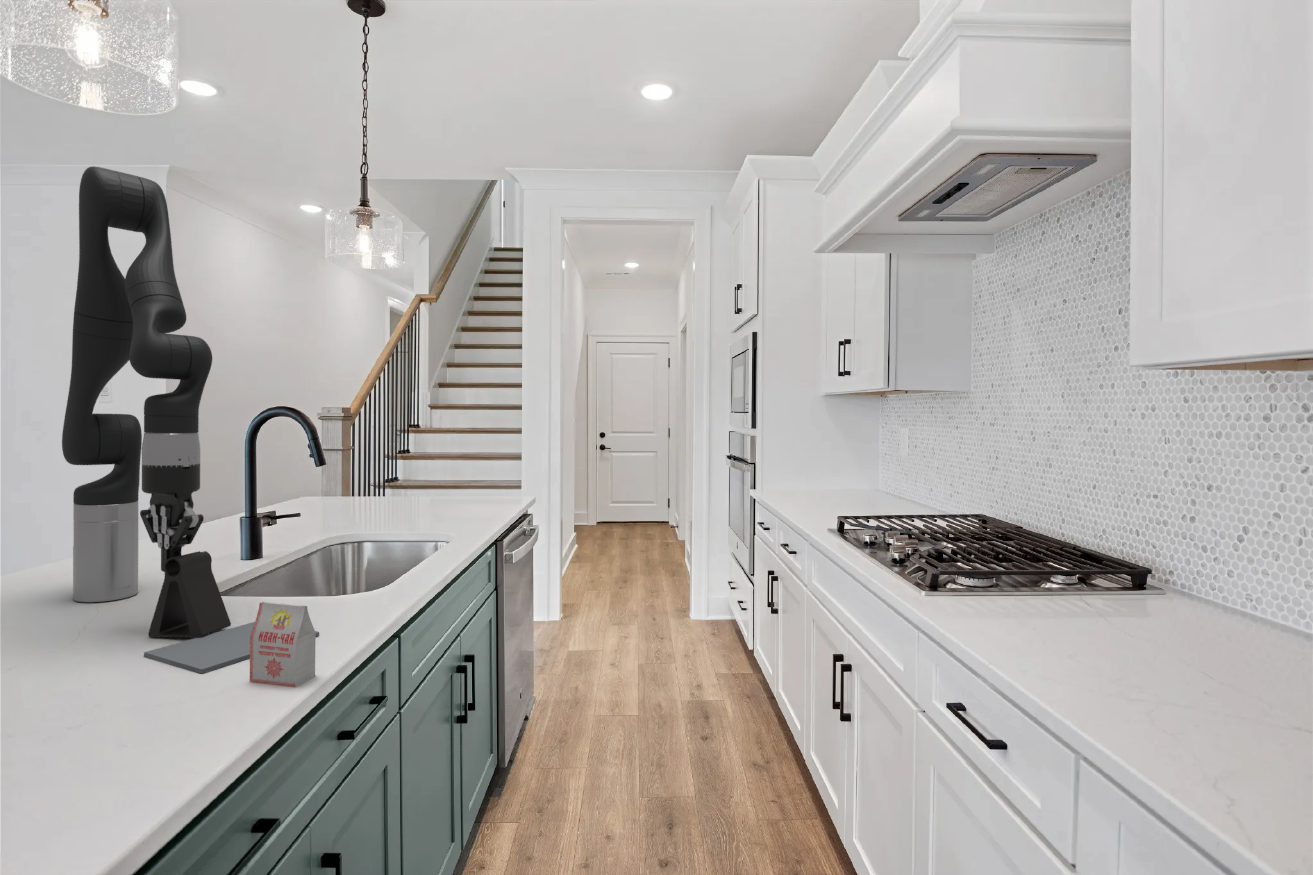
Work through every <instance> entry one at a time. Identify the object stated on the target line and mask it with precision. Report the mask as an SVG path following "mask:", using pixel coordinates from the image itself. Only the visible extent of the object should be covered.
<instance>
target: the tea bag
mask: <svg viewBox="0 0 1313 875" xmlns="http://www.w3.org/2000/svg"><path fill="white" fill-rule="evenodd" d="M308 610H309V609H308V606H307V605H300V604H289V603H278V602H267V601H266V602H265V601H261V602H259V605H258V611H257V615H256V617H255V620H254V622H255V624H254V627H253V630H252V633H251V636H250V658H249V683H256V684H257V683H258V684H264V685H265V684H266V685H272V686H273V685H274V686H281V687H291V688H298V687H299V686H301V685H302V684H304V683H306V682H308V681H310V680H312V679H313V678H315V677H316V638H317V637H316V633H315V631H316V630H315V627H314V625H313V622H312V620H311V618H310V614H309V611H308Z"/></svg>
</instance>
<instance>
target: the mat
mask: <svg viewBox="0 0 1313 875" xmlns="http://www.w3.org/2000/svg"><path fill="white" fill-rule="evenodd" d="M254 624H255V621H253V622H249V623H245V624H242V625H239V626H235V627H230V628H226V629H222V630H219V631H216V632H213V633H211V634H208V635H206V636H203V637H201V638H195V637H193V638H190V639H187V640H184V641H179V642H176V643H173V644H169V645H166V646H162V647H158V648H154V649H151V650H148V651H144V652H143V657H144V658H148V659H151V660H154V661H158V662H160V663H163V664H168V665H170V666H175V667H178V668H180V669H185V670H188V671H192V672H194V673H197V674H198V673H199V674H201V675H203V674H205V673H209V672H212V671H215V670H218V669H221V668H223V667H228V666H230V665H233V664H236V663H240V662H243V661H245V660H250V636H251V633H252V630H253V627H254ZM315 633H316V638H317V637H319V636H320V631H316V630H315Z"/></svg>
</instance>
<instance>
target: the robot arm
mask: <svg viewBox="0 0 1313 875" xmlns="http://www.w3.org/2000/svg"><path fill="white" fill-rule="evenodd" d="M78 191H79V192H78V234H79V235H78V240H79V241H78V243H79V244H78V245H79V247H78V248H79V249H78V251H79V252H78V253H79V254H78V259H79V260H78V271H77V282H76V283H77V284H76V292H75V302H74V309H73V323H72V339H71V340H72V342H71V343H72V345H71V346H72V347H71V369H70V371H71V372H70V379H69V382H70V383H69V388H68V394H67V400H66V407H65V414H64V419H63V428H62V435H61V448H62V455H63V457H64V460H65V462H66V463H68V464H69V465H73V466H104V465H105V466H106V465H114V466H113V468H112V470H111V471H110V472H109V473H108V474H106V475H105V476H102V477H101V478H99V479H96V480H94V481H91V482H87V483H84V484H82V485H78V486H77V487H75V489H74V490H73V494H72V495H73V501H72V502H73V510H72V511H73V513H72V514H73V545H72V546H73V547H72V596H73V601H75V602H79V603H100V602H101V603H102V602H108V601H109V602H110V601H116V600H123V599H125V598H130V597H133V596H135V595H137V594H138V593H139V514H140V518H141V520H142V522H143V525H144V528H145V530H146V532H147V534H148V536H149V539H150V542H151V543H153V544H154V543H155V544H157V546H158V549H160V571H161V572H164V564H165V562H166V560H167V559H169V558H172V557H177V556H181V555H182V548H184V547H185V546H187V545H190V544H192V543H193V540H194V539H195V537H196V536H197V533H198V532H199V530H200V527H201V525H202V524H203V522H204V518H205V517H204V514H201V513H200V514H197V513H196V512H195V511H194V501H193V496H192V494H193V493H194V492H198V491H199V490H200V489H201V443H200V435H199V431H200V430H199V424H200V423H199V420H200V418H199V414H200V413H199V412H200V410H199V409H200V404H201V401H202V396H203V393H204V392H203V391H204V390H205V389H204V388H205V386H206V382H207V379H208V378H209V375H210V371H211V368H212V365H213V353H212V349H211V347H210V346H209V344H208V343H207V341H205V340H204V339H203V338H202V337H198V336H193V335H184V334H183V335H182V334H174V332H177V331H179V330H181V329H182V328H183V327H184V326H185V325H186V322H187V312H186V308H185V304H184V302H183V299H182V295H181V292H180V289H179V285H178V283H177V278H176V274H175V266H174V265H175V264H174V257H173V256H174V254H173V245H172V243H173V242H172V235H171V227H170V226H171V225H170V217H169V216H170V215H169V209H168V202H167V198H166V196H165V193H164V191H163V188H162V187H161V186H160V185H159V183H157V182H156V181H154V180H152V179H149V178H146V177H144V176H143V177H142V176H138V175H134V174H130V173H126V172H122V171H117V170H114V169H108V168H104V167H100V166H94V165H93V166H89V167H87V168H86V169H85V170H84V171H83V173H82V175H81V179H80V183H79V190H78ZM109 228H112V229H113V228H114V229H119V230H125V231H129V232H134V233H142V234H143V235H144V239H145V243H144V246H143V248H142V250H141V251H140V253H139V254H138V255H137V256H136V258H135V259H134V261H133V262H132V263H131V265H130V266H129V267H128V270H127V272H126V274H125V276H124V275H123V274H122V272H121V270H120V268H119V267H118V265H117V263H116V260H115V259H114V255H113V254H112V250H111V247H110V246H111V245H110V240H109ZM172 333H173V334H172ZM128 362H129V363H130V366H131V368H132V369H133V370H134V371H135V372H136V373H137V374H138V375H140V376H142V377H144V378H148V379H161V380H162V379H163V380H179V383H178V385H177V387H176V388H175V389H174V390H173V391H171V392H166V393H159V394H153V395H150V396H148V397H147V398H146V399H145V400H144V404H143V435H142V428H141V423H140V421H139V419H138V418H137V416H135V415H133V414H127V413H93V412H94V408H95V405H96V403H97V400H98V398H99V396H100V394H101V393H102V391H103V390H104V388H105V387H106V386H107V384H108V383H109V382H110V381H111V380H112V379H113V377H114V376H116V375H117V374H118V372H119V371H120V370H122V368H123V367H124V366H125V365H126V364H128ZM142 438H143V439H142ZM140 469H141V470H140ZM140 471H141V472H140ZM140 474H141V476H140ZM140 477H141V490H142V492H143V493H145V494H150V495H151V496H150V499H149V507H148V509H141V510H140V513H139V492H140V491H139V490H140ZM164 573H165V572H164Z"/></svg>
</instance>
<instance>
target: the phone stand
mask: <svg viewBox="0 0 1313 875" xmlns="http://www.w3.org/2000/svg"><path fill="white" fill-rule="evenodd" d="M212 561H213V560H212V556H211V554H210V552H208V551H206V550H204V551H201V550H199V551H195V552H191V553H185V554H183V555H182V554H181V556H177V557H172V558H169V559H167V560H166V562H165V564H164V579H163V583H162V586H161V589H160V593H159V596H158V600H157V604H156V606H155V610H154V613H153V616H152V619H151V623H150V627H149V630H148V633H147V634H148V635H147V636H148V637H149V638H201V637H203V636H206V635H208V634H212V633H216V632H219V631H222V630H225V629H227V628H229V627H231V626H232V623H231V619H230V616H229V614H228V612H227V609H226V605H225V603H224V600H223V598H222V595H221V592H220V590H219V587H218V584H217V582H216V579H215V575H214V573H213V570H212Z"/></svg>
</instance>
